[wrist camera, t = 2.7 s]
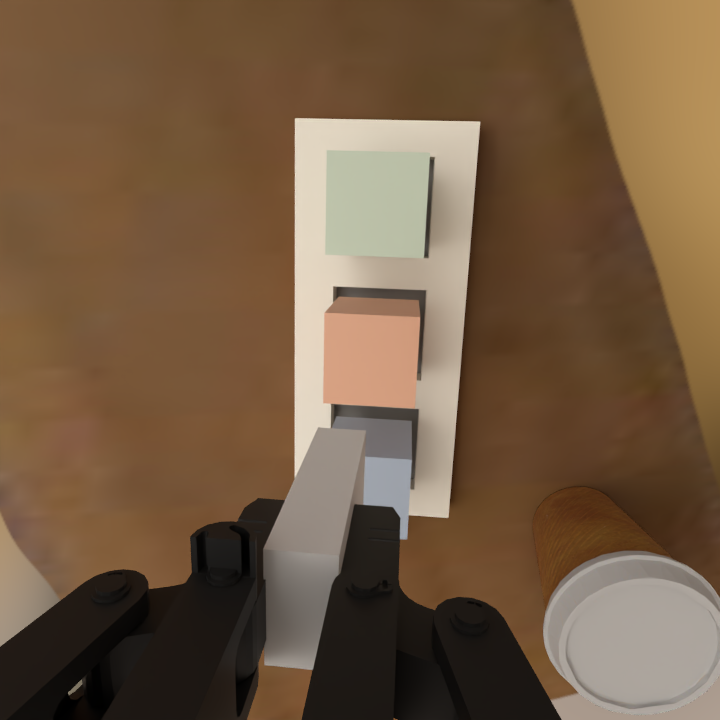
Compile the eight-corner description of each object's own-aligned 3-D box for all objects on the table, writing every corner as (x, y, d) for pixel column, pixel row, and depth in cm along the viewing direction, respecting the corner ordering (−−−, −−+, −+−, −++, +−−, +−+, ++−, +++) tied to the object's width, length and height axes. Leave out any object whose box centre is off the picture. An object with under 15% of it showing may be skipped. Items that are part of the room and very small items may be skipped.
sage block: (341, 161, 33) (326, 150, 27) (426, 164, 32) (430, 152, 26) (339, 248, 34) (325, 254, 28) (421, 251, 33) (423, 258, 28)
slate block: (336, 416, 37) (322, 453, 31) (411, 420, 36) (411, 459, 30) (334, 484, 38) (321, 532, 32) (407, 489, 38) (407, 539, 32)
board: (301, 123, 35) (295, 118, 33) (476, 126, 34) (480, 121, 32) (300, 493, 42) (294, 506, 40) (446, 503, 41) (448, 517, 39)
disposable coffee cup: (492, 561, 42) (524, 693, 30) (535, 450, 39) (587, 548, 28) (615, 596, 42) (693, 742, 30) (665, 486, 39) (772, 600, 27)
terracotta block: (338, 296, 35) (324, 312, 29) (418, 300, 34) (420, 317, 28) (337, 373, 36) (323, 403, 30) (414, 377, 36) (414, 408, 30)
